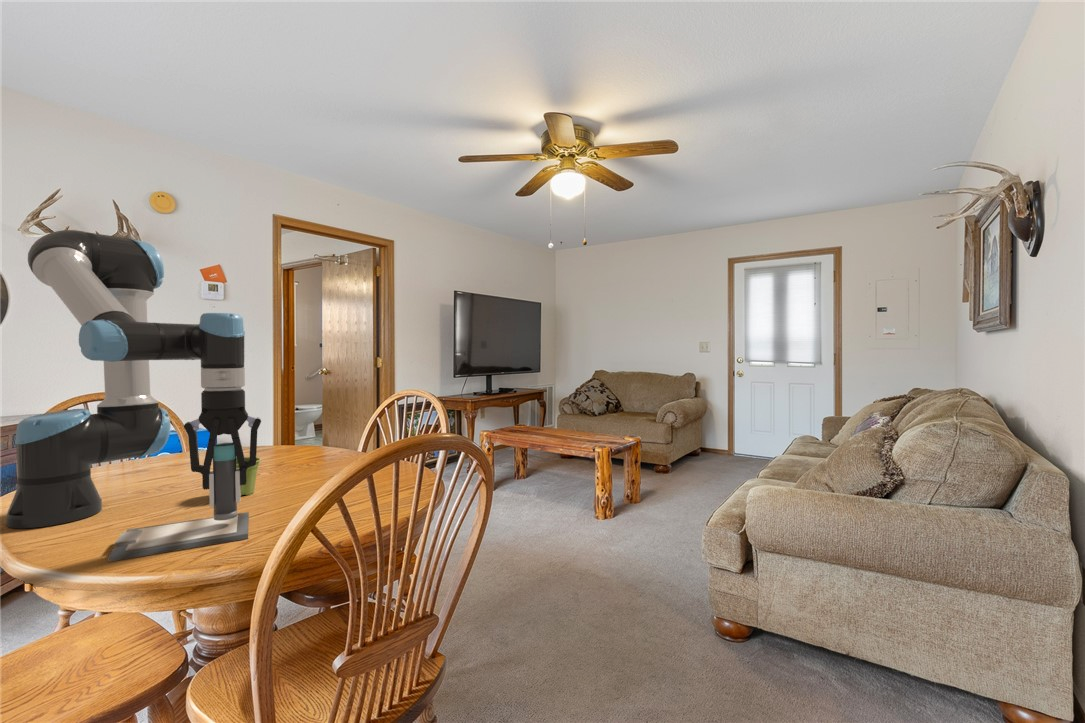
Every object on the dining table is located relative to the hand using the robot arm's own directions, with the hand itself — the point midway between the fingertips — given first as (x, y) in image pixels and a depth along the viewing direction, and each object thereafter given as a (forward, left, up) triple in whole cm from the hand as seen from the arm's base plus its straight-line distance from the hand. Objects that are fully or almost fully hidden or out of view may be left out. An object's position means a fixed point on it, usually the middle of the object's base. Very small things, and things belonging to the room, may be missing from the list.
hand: (225, 502), depth 102 cm
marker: (0, 0, -3) cm, 3 cm away
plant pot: (+2, +29, -6) cm, 30 cm away
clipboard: (-6, 0, -6) cm, 9 cm away
